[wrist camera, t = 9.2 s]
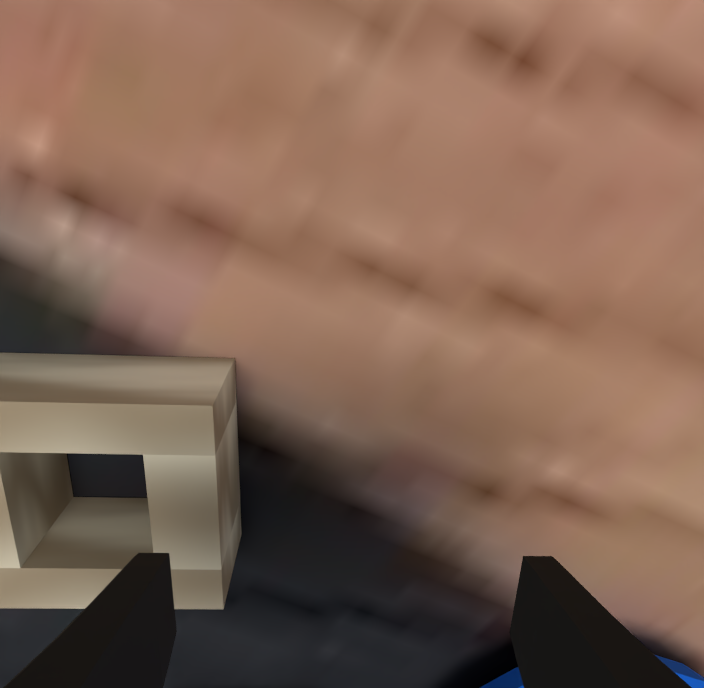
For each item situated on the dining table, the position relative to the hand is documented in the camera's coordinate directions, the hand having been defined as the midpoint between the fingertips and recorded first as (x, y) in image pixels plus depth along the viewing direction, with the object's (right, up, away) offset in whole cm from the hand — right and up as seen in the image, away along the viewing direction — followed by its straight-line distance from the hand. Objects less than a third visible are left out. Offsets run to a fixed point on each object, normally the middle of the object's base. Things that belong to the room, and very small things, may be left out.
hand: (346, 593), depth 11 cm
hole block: (-13, +1, +10) cm, 17 cm away
